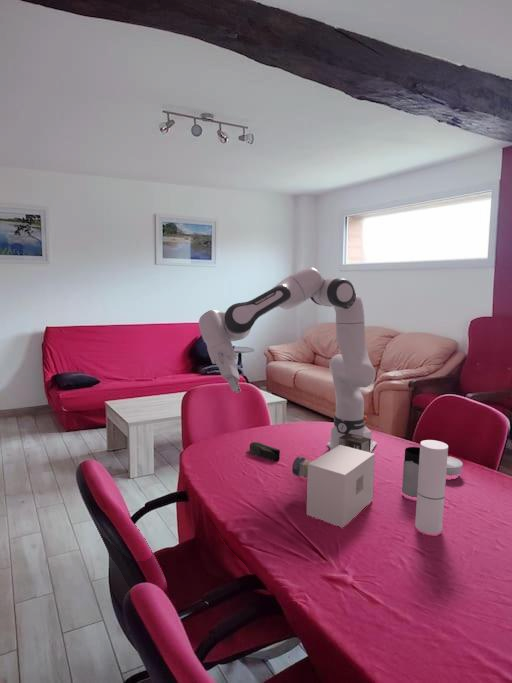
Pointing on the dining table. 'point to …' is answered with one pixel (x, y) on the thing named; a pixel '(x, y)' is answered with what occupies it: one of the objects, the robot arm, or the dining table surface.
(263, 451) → the mobile phone
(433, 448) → the cylindrical container
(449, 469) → the ramekin
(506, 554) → the dining table surface
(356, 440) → the coffee box
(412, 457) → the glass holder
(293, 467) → the plunger
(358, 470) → the box
